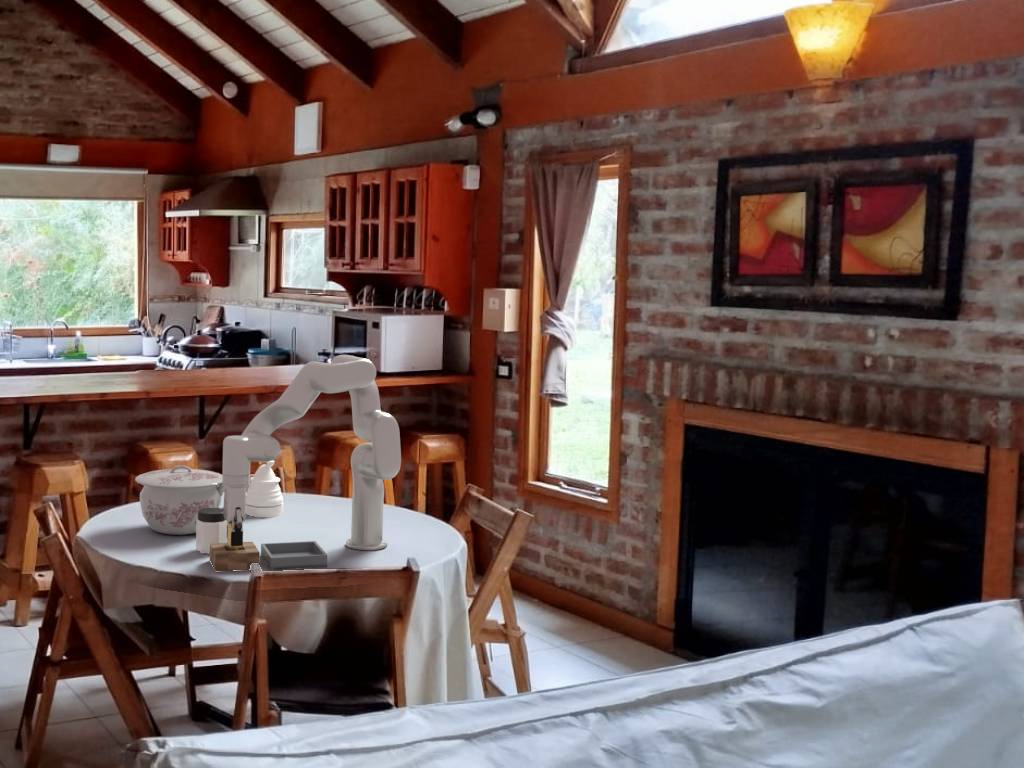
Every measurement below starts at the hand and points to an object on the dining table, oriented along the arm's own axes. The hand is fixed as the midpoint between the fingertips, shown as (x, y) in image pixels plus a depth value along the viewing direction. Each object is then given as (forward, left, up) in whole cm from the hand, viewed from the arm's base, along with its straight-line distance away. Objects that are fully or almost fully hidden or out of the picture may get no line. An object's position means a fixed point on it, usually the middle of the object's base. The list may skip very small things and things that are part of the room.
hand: (234, 541), depth 325 cm
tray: (-1, +17, -7) cm, 18 cm away
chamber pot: (-43, -10, -7) cm, 45 cm away
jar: (-17, -4, -7) cm, 19 cm away
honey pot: (-62, +19, -7) cm, 65 cm away
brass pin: (0, 0, -7) cm, 7 cm away
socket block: (0, 0, -7) cm, 7 cm away
